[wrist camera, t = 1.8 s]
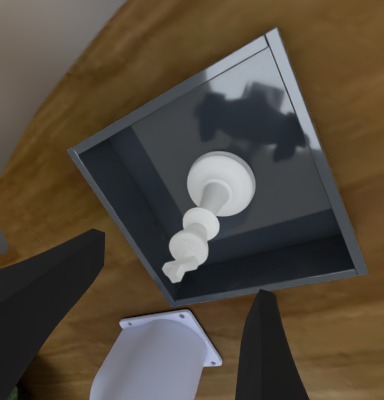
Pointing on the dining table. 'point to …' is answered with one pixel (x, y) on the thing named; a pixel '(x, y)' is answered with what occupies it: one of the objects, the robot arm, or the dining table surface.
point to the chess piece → (209, 207)
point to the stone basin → (18, 394)
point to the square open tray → (245, 149)
